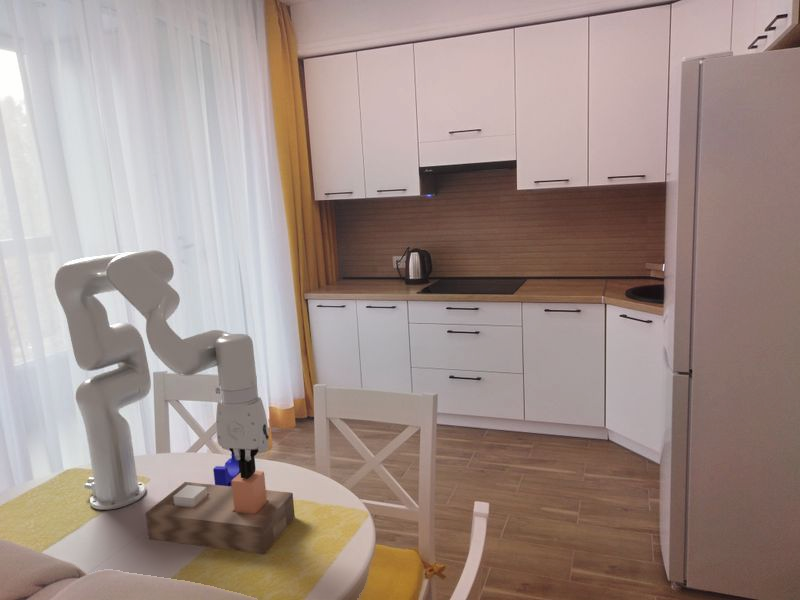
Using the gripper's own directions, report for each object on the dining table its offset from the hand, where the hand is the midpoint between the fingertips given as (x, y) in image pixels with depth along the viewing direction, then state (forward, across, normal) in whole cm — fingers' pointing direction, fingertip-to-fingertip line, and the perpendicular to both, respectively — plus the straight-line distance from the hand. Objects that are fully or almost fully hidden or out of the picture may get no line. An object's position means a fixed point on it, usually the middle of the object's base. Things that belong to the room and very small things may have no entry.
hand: (248, 475), depth 126 cm
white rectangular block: (+13, -15, 0) cm, 20 cm away
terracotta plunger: (+8, 0, 0) cm, 8 cm away
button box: (+13, -8, 0) cm, 15 cm away
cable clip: (+14, -19, +21) cm, 31 cm away
